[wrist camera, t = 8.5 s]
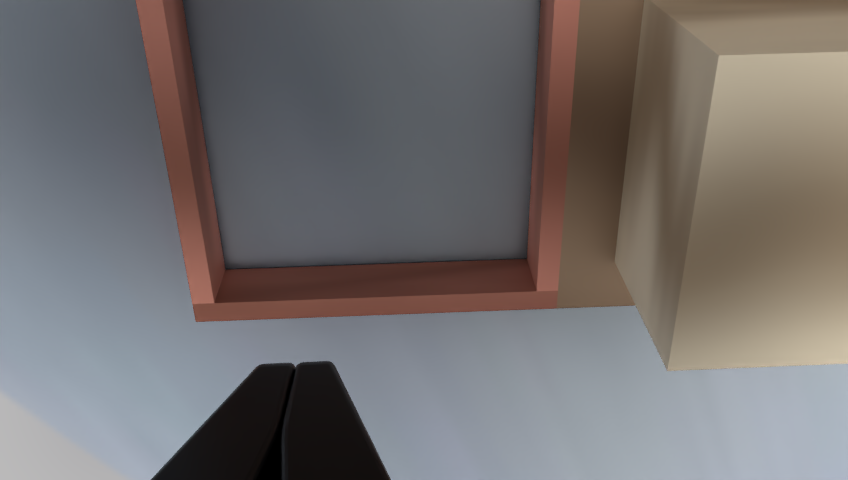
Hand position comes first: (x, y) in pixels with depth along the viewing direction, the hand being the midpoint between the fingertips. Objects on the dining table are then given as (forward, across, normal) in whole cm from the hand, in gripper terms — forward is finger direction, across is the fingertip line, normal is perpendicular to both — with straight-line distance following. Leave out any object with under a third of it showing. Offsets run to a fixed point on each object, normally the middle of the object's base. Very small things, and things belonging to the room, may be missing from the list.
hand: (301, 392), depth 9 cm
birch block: (+8, -9, +1) cm, 12 cm away
